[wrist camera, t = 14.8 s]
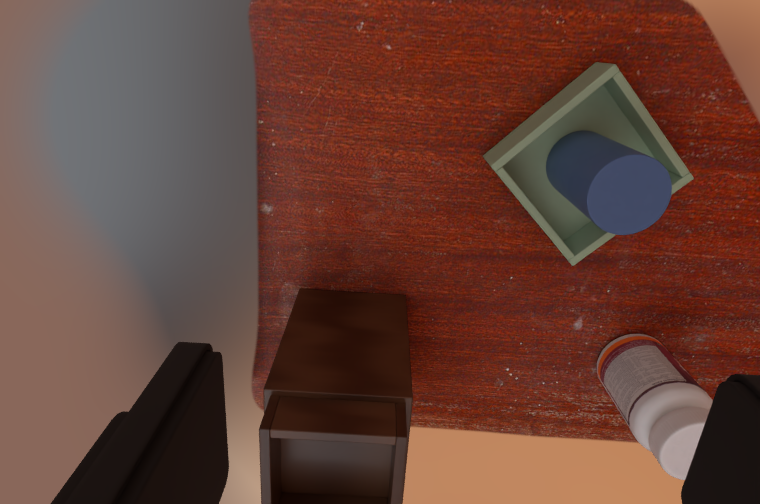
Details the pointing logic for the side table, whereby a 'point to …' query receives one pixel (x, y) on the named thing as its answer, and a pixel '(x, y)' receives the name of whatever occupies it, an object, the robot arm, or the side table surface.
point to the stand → (338, 402)
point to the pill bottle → (655, 399)
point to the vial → (609, 181)
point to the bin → (561, 117)
